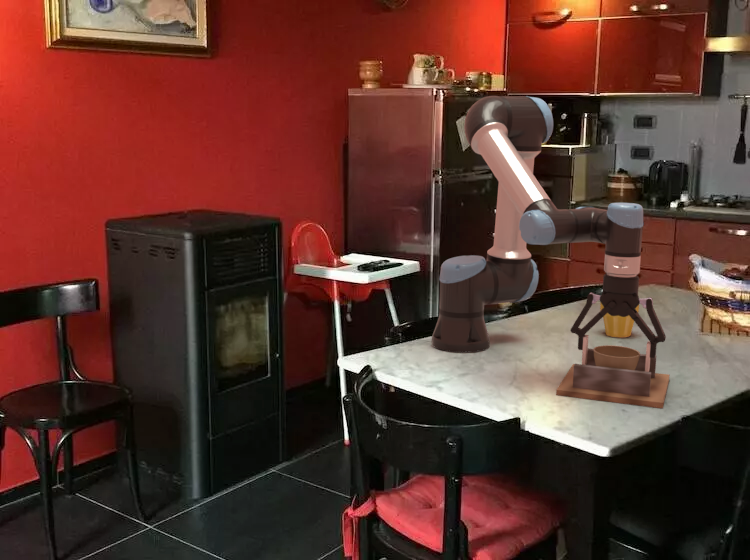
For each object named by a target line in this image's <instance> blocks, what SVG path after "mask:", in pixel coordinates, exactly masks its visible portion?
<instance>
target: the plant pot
mask: <svg viewBox="0 0 750 560" xmlns="http://www.w3.org/2000/svg"><path fill="white" fill-rule="evenodd" d="M599 302H600V301H599ZM599 304H600V305H599V306H600V307H599V312H600V311H601V310H602V309H603V308H604V307H603V305H602V303H601V302H600V303H599ZM635 309H636V311H637V312H638V313H639V312H640V304H639V305H638V306H637V307H636V308H635ZM602 318H603V323H604V330H605V335H606V336H608V337H612V338H621V339H622V338H629V337H631V335H632V332H633V328H634V323H635V321H634V320H633V319H632V318H631V317H630V316H626V317H621V316H611V315H610V314H608V313H607V314H606V315H605V316H603V317H602Z"/></svg>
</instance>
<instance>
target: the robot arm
mask: <svg viewBox="0 0 750 560" xmlns="http://www.w3.org/2000/svg"><path fill="white" fill-rule="evenodd" d="M463 126H464V127H463V128H464V133H465V134H464V135H465V138H466V140H467V143H468V144H469V146H470V148H471V150H472V151H473V152H474V153H475V154H477V155H480V156H481V157H482V159H483V160H484V161H485V163H486V164H487V166H488V168H489V169H490V170H491V172H492V173H493V176H494V177H495V178H496V180H497V182H498V186H497V198H496V199H497V200H496V212H495V222H494V223H495V225H494V234H493V235H494V237H493V246H492V247H491V248H489V249H488V250H487V253H486V258H485V257H484V256H482V255H477V254H476V255H475V254H473V255H472V254H470V255H459V256H454V257H451V258H448V259H446V260H445V261H443V263H442V264H441V266H440V274H439V306H438V307H439V311H438V315H439V316H438V319H437V322H436V324H435V327H434V330H433V333H432V337H431V346H433V347H434V348H436V349H438V350H441V351H446V352H454V353H475V352H482V351H485V350H488V349H489V347H490V342H491V341H490V335H489V332H488V328H487V325H486V321H485V317H484V314H485V313H484V312H485V306H486V305H487V306H488V305H498V304H508V303H510V304H515V303H517V302H523V301H527V300H528V299H529V298H531V297H532V296H533V295H534V294H535V292H536V290H537V287H538V284H539V278H540V276H539V275H540V273H539V270H538V265H537V264H536V262H535V261H534V259H532V254H531V252H530V251H529V250H528V249H527V244H528V245H534V246H535V245H540V246H548V245H554V244H555V245H556V244H571V243H572V244H573V243H574V244H575V243H589V242H590V243H591V242H592V243H593V242H594V243H600V244H604V245H605V249H604V263H603V264H604V266H603V267H604V268H603V272H605V274H603V276H602V277H603V279H602V280H603V281H602V292H601V295H600V294H596V293H594V292H592V291H591V292H589V294H587V296H586V303H585V305H584V307H583V308H582V310H581V311H580V313H579V315H578V316H577V318H576V319H575V321H574V323H573V325H572V326H571V328H570V333H572V334H575V335H577V338H578V339H577V349H578V351H582V356H581V364H582V365H586V363H587V353H588V348H589V336H590V335H589V334H587V333H588V332H589V331H590V330H592V328H593V327H594V326H595V325H596V324H597V323H598V322H599V321H601V320H602V318H603V316H605V315H606V314H607V313H608V314H610V315H611V316H621V317H626V316H630V317H631V318H632V319H633V320H634V323H635V324H636V325H637V327H638V328H639V329H640V330H641V332H642V333H643V334H644V336H645V338H647V343H646V348H645V354H646V362H645V372H649V368H650V358H655V355H656V356H657V346H658V345H657V344H658V343H664V342H665V341H666V340H667V339H666V338H667V335H666V333H665V332H664V329H663V327H662V324H661V322H660V320H659V317H658V315H657V313H656V311H655V308H654V301H653V298H652V297H651V296H649V297H647V298H646V297H645V298H640V297H639V287H640V286H639V284H640V277H639V274H640V272H641V259H642V258H641V255H642V254H641V252H642V240H643V228H644V208H643V206H642V205H641V204H639V203H633V202H612V203H609V204H608V206H607V209H602V208H597V207H594V206H579V207H576V208H573V209H572V208H570V209H569V208H567V209H562V208H561V209H558V208H557V206H556V205H555V204H554V202H553V201H552V199H551V198H550V197H549V195H548V194H547V193H546V191H545V190H544V188H543V187H542V186H541V184H540V182H539V181H538V180H537V178H536V176H535V175H534V167H535V166H534V165H535V158H536V157H537V156H538V155H539V154H540V153H541V152H542V146H543V144H545V143H546V142H548V141H549V139H550V137H551V136H552V133H553V131H554V118H553V113H552V111H551V108H550V107H549V105H548V104H547V103H546V101H544V100H543V99H542V98H540V97H534V96H528V95H526V96H525V95H524V96H523V95H522V96H521V95H519V96H515V95H514V96H506V95H505V96H503V95H499V96H498V95H489V96H484V97H482V98H480V99H478V100H477V101H475V102H474V104H472V105H471V106H470V108H469V109H468V111H467V113H466V115H465V118H464V125H463ZM598 301H599V302H601V303H602V305H603V307H604V308H603V309H602V310H601V311H600V310H599V312H598V313H596V314H595V315H594V317H592V318H591V319H590V320H589V321H588V322H587V323H586V324H585V325H584V326H583V327H582V328H580V325H581V324H582V323H583V321H584V319H585V318H586V316H587V314H588V312H589V311H590V310H591V308H592V306H593V305H595V304H596V303H597V302H598ZM638 305H639V306H640V305H641V306H642V308H643V309H646V312H647V315H648V316H649V319H650V322H651V324H652V326H653V328H654V331H655V333H656V335H655V333H654V332H653V331H652V330H651V328H650V326H648V324H647V323H646V321H644V319H643V318H642V316H641V315H640V314H639V312H637V311H636V309H635V308H636V307H637V306H638Z"/></svg>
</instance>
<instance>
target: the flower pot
mask: <svg viewBox="0 0 750 560" xmlns="http://www.w3.org/2000/svg"><path fill="white" fill-rule="evenodd" d="M593 349H594V359H595V364H596V366H600V367H609V368H618V369H627V370H635V368H636V366H637V364H638V361H639V357H640V354H641V352H640V351H639V350H637V349H634V348H632V347H628V346H627V347H626V346H622V345H621V346H620V345H608V344H607V345H598V346H595V347H594V348H593Z"/></svg>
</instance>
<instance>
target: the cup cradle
mask: <svg viewBox="0 0 750 560" xmlns="http://www.w3.org/2000/svg"><path fill="white" fill-rule="evenodd" d="M645 362H646V353H640V357H639V361H638V364H637V366H636V368H635V370H627V369H618V368H609V367H600V366H596V364H595V359H594V348H589V347H588V353H587V363H586V365H582V363H581V364H580V363H572V365H571V367H570V368H569V369H568V371H567V373H566V374H565V376H564V377H563V378H562V380H561V382H560V384H559V385H558V387H557V388H556V389H555V390H556V391H555V395H556V396H561V397H569V398H576V399H577V398H578V399H585V400H593V401H601V402H608V403H616V404H625V405H633V406H640V407H647V408H648V407H649V408H657V409H663V408H664V404H665V399H666V395H667V390H668V387H669V382H670V374H668V373H667V374H666V373H665V374H664V373H658V372H656V368H657V367H656V366H657V365H656V364H657V354H656V355H655V358H650V368H649V372H645Z"/></svg>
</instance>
